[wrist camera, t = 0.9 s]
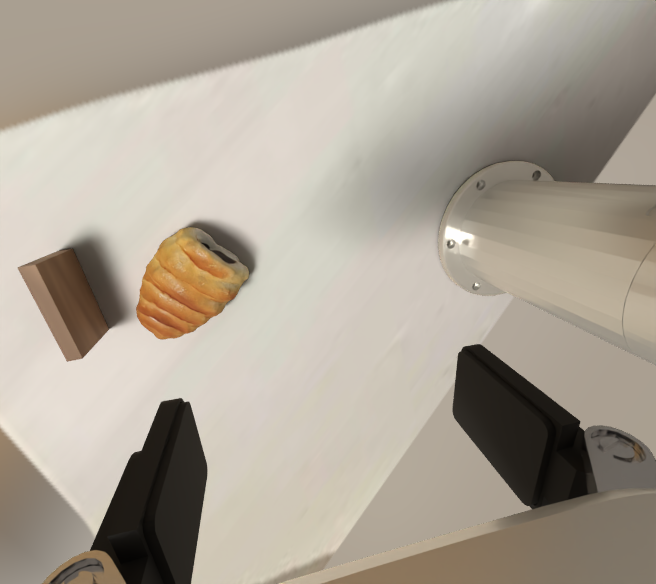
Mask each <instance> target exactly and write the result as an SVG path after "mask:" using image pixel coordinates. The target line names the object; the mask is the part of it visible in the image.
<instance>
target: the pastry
mask: <svg viewBox="0 0 656 584" xmlns="http://www.w3.org/2000/svg"><path fill="white" fill-rule="evenodd" d="M248 277H249V271H248V268H247V267H246V266H245V265H243V264H241V263H240V262H239V259H238V257H236V256H235V255H234V254H233V253H232V252H230V251H228V250H226V249H225V248H223V247H221V246H219V245H217V244H216V243H215V242H214V240H213V238H212V237H211V236H210V235H209V234H207V233H205V232H204V231H203V230H201V229H197V228H193V227H189V228H183V229H180V230H179V231H178V232H177V233H176V234H174V235H173V236H171V237H169V238H167V239H165V240H164V241H163V242H162V243H161V244H160V247H159V249H158V251H157V253H156V254H155V255H154V257H153V259H152V260H151V261H150V263H149V264H148V265H147V267H146V272H145V274H144V276H143V279H142V286H141V289H140V299H139V303H138V305H137V307H136V311H137V317H138V319H139V321H140V322H141V324H142V325H143V326H144V327H145V328H146V329H148V330H149V331H151V332H152V333H153V334H154V335H155V336H156V337H157V338H159V339H168V338H178V337H180V336H182V335H184V334H186V333H190V332H193V331H195V330H196V329H197V328H198V327H200V326H201V325H203V324H205V323H206V322H207V321H208V320H209V319H210V318H212V317H213V316H217V315H218V314H219V313H221V312H222V311H223V309H224V307H225V305H226V304H227V303H228V301H229V300H232V299H234V298H235V297H236V295H237V293H238V291H239V289H240V287H241V285H242V284H243V282H244V281H245V280H247V279H248Z"/></svg>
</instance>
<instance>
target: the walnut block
mask: <svg viewBox="0 0 656 584" xmlns="http://www.w3.org/2000/svg"><path fill="white" fill-rule="evenodd" d="M18 270H19V271H20V273H21V275H22V277H23V279H24V281H25V283H26V285H27V287H28V288H29V290H30V292H31V294H32V296H33V298H34V300H35V302H36V304H37V305H38V307H39V309H40V311H41V313H42V315H43V317H44V319H45V321H46V322H47V324H48V326H49V328H50V330H51V332H52V334H53V336H54V338H55V340H56V341H57V343H58V345H59V347H60V349H61V351H62V353H63V355H64V357H65V358H66V360H67V362H68V361H72V360H77V359H82V358H83V357H84V356H85V355H86V354H87V353H88V352H89V351H90V350H91V349H92V347H93V346H94V345H95V344H96V343H97V342H98V341H99V340H100V339H101V338H102V337H103V335H104V334H105V333H106V332H107V331H108V330H109V328H108V326H107V324H106V322H105V319H104V317H103V315H102V313H101V310H100V308H99V306H98V304H97V302H96V299H95V297H94V295H93V293H92V290H91V288H90V286H89V284H88V282H87V279H86V277H85V275H84V273H83V270H82V268H81V266H80V264H79V262H78V259H77V257H76V255H75V253H74V250H73V249H67V250H61V251H57V252H55V253H52V254H50V255H47V256H45V257H42V258H40V259H38V260H35V261H33V262H30V263H28V264H25V265H23V266H21V267H18Z"/></svg>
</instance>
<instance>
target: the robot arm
mask: <svg viewBox="0 0 656 584" xmlns="http://www.w3.org/2000/svg"><path fill="white" fill-rule="evenodd" d="M447 242H448V243H447ZM438 249H439V256H440V260H441V263H442V266H443V269H444V270H445V272H446V273H447V275H448V277H449V278H450V279H451V280H452V281H453V282H454V283H455V284H456V285H458V286H460V287H461V288H463V289H464V290H466V291H468V292H470V293H473V294H477V295H482V296H495V295H499V294H504V293H509V294H511V295H513V296H515V297H517V298H519V299H521V300H523V301H525V302H527V303H529V304H531V305H533V306H535V307H537V308H539V309H541V310H543V311H546V312H547V313H549V314H552V315H554V316H555V317H557V318H560V319H562V320H564V321H566V322H568V323H570V324H572V325H574V326H576V327H578V328H580V329H582V330H584V331H586V332H588V333H590V334H592V335H594V336H596V337H598V338H600V339H602V340H604V341H606V342H608V343H610V344H612V345H614V346H616V347H618V348H620V349H622V350H625V351H627V352H629V353H631V354H633V355H635V356H637V357H640V358H641V359H643V360H646V361H648V362H650V363H652V364H654V365H656V186H655V185H631V184H606V183H582V182H557V181H555V180H554V179H553V177H552V176H551V175H550V174H549V173H548V172H547V171H546V170H545V169H543V168H542V167H540V166H538V165H536V164H534V163H529V162H524V161H507V162H501V163H496V164H493V165H491V166H488V167H486V168H484V169H482V170H481V171H479V172H477V173H476V174H474V175H473V176H472V177H471V178H469V179H468V180H467V181H466V182H465V183H464V184H463V185H462V186H461V187H460V188H459V190H458V191H457V192H456V193H455V195H454V196H453V198H452V199H451V201H450V203H449V204H448V206H447V208H446V211H445V213H444V216H443V218H442V221H441V225H440V230H439V238H438ZM453 415H454V418H455V419H456V421H457V422H458V423H459V425H460V426H461V427H462V428H463V430H464V431H465V432H466V433H467V435H468V436H469V437H470V438H471V440H472V441H473V442H474V443H475V444H476V446H477V447H478V448H479V449H480V451H481V452H482V453H483V454H484V455H485V457H486V458H487V459H488V461H489V462H490V463H491V464H492V466H493V467H494V468H495V469H496V471H497V472H498V473H499V474H500V476H501V477H502V478H503V479H504V480H505V482H506V483H507V484H508V485H509V487H510V488H511V489H512V490H513V492H514V493H515V494H516V495H517V497H518V498H519V499H520V500H521V501H522V503H524V504H525V505H527V506H530V507H531V508H532V510H529V511H525V512H522V513H518V514H514V515H511V516H508V517H504V518H500V519H497V520H493V521H490V522H486V523H483V524H479V525H476V526H472V527H469V528H465V529H462V530H458V531H455V532H451V533H448V534H444V535H441V536H438V537H434V538H431V539H427V540H424V541H420V542H417V543H413V544H410V545H407V546H403V547H400V548H396V549H393V550H389V551H386V552H383V553H379V554H376V555H372V556H369V557H365V558H362V559H359V560H355V561H352V562H349V563H345V564H342V565H339V566H335V567H332V568H328V569H325V570H322V571H318V572H315V573H312V574H308V575H305V576H302V577H298V578H295V579H291V580H288V581H285V582H281V583H278V584H656V460H655V458H654V456H653V454H652V452H651V451H650V450H649V448H648V447H647V446H646V445H645V444H643V443H642V442H641V441H640V440H638V439H637V438H635V437H634V436H632V435H630V434H628V433H626V432H624V431H622V430H619V429H616V428H612V427H608V426H591V427H588V428H587V429H586V430H585V431H584V430H583V429H581V428H580V427H579V424H580V421H579V420H578V419H577V418H575V417H574V416H573V415H572V414H570V413H569V412H568V411H566V410H565V409H564V408H563V407H561V406H560V405H558V404H557V403H556V402H554V401H553V400H552V399H551V398H549V397H548V396H547V395H546V394H544V393H543V392H542V391H540V390H539V389H538V388H537V387H535V386H534V385H533V384H531V383H530V382H529V381H527V380H526V379H525V378H524V377H522V376H521V375H519V374H518V373H517V372H516V371H515V370H513V369H512V368H511V367H509V366H508V365H507V364H505V363H504V362H503V361H501V360H500V359H499V358H498V357H496V356H495V355H494V354H492V353H491V352H490V351H488V350H487V349H486V348H485V347H483V346H482V345H480V344H476V345H471V346H465V347H463V348H462V351H461V352H459V353H458V360H457V370H456V380H455V391H454V401H453ZM206 480H207V463H206V459H205V456H204V452H203V448H202V445H201V441H200V437H199V434H198V430H197V427H196V423H195V419H194V416H193V412H192V408H191V405H190V403H189V402H184V401H183V399H182V398H179V399H173V400H168V401H163V402H161V404H160V406H159V408H158V411H157V413H156V416H155V418H154V421H153V423H152V426H151V428H150V431H149V433H148V436H147V438H146V441H145V443H144V446H143V448H142V451H139V452H135V453H133V454H132V455H131V457H130V459H129V461H128V463H127V466H126V468H125V470H124V473H123V475H122V477H121V480H120V482H119V484H118V487H117V489H116V491H115V494H114V496H113V498H112V501H111V503H110V505H109V508H108V510H107V512H106V515H105V517H104V519H103V521H102V524H101V526H100V528H99V531H98V533H97V535H96V538H95V540H94V542H93V545H92V547H91V549H90V551H87V552H84V553H81V554H79V555H77V556H74V557H72V558H71V559H69V560H68V561H66V562H65V563H63V564H62V565H60V566H59V567H58V568H57V569H56V570H55V571H54V572H52V573H51V574H50V575H49V576H48V577H47V578H46V579H45V580H44V582H43V583H42V584H191V579H192V573H193V566H194V559H195V553H196V546H197V540H198V533H199V527H200V520H201V513H202V507H203V500H204V494H205V487H206Z"/></svg>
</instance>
